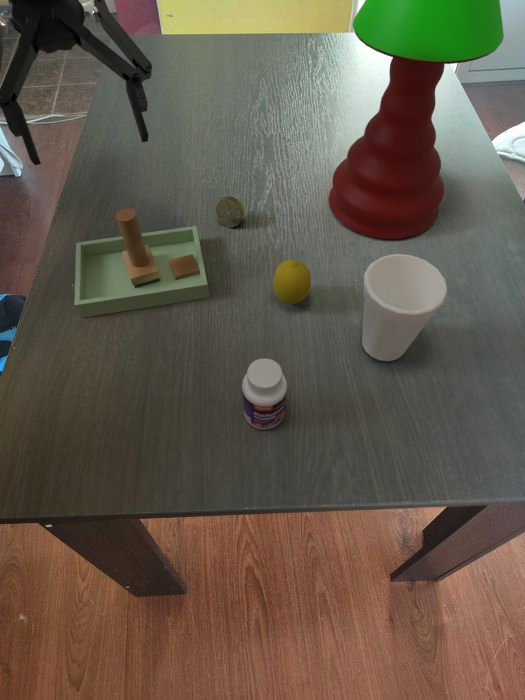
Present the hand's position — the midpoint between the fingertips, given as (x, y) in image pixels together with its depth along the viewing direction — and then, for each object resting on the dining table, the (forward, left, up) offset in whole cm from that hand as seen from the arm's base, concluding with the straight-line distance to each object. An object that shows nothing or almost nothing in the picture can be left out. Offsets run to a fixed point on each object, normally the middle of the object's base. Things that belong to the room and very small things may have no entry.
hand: (92, 150), depth 58 cm
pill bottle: (+16, -29, -21) cm, 40 cm away
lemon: (+24, -11, -21) cm, 34 cm away
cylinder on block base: (+2, -1, -21) cm, 21 cm away
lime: (+18, +9, -21) cm, 29 cm away
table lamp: (+46, +8, -21) cm, 51 cm away
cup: (+35, -22, -21) cm, 47 cm away
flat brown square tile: (+9, -2, -21) cm, 23 cm away
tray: (+2, -1, -21) cm, 21 cm away
